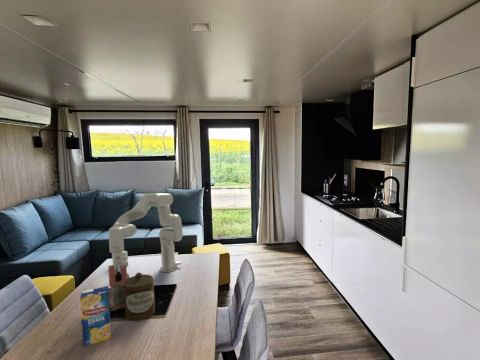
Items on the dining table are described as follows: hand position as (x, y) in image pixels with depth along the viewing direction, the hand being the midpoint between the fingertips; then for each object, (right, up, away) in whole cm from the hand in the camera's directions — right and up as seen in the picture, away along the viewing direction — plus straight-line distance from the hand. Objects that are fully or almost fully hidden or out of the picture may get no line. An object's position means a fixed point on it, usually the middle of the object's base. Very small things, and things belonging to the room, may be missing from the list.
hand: (118, 279), depth 149 cm
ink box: (-23, -11, +54) cm, 59 cm away
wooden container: (+17, -14, -10) cm, 24 cm away
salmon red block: (0, -3, 0) cm, 3 cm away
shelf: (-1, -13, +4) cm, 14 cm away
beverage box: (+5, -16, -30) cm, 34 cm away
